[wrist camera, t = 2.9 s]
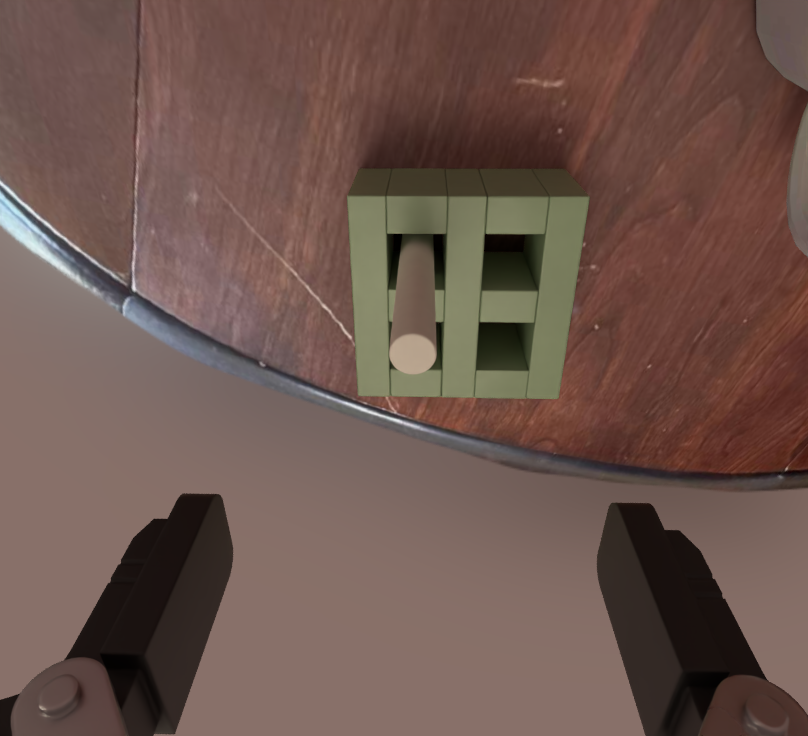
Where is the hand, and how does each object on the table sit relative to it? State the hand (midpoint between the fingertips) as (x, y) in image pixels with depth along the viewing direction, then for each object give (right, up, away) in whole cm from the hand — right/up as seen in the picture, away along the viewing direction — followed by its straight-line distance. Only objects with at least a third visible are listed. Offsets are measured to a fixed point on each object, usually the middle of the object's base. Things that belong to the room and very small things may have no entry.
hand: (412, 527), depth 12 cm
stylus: (+1, +10, +17) cm, 20 cm away
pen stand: (+3, +9, +18) cm, 20 cm away
